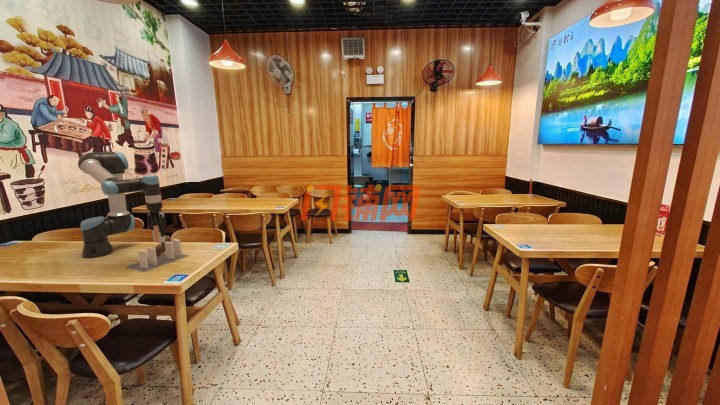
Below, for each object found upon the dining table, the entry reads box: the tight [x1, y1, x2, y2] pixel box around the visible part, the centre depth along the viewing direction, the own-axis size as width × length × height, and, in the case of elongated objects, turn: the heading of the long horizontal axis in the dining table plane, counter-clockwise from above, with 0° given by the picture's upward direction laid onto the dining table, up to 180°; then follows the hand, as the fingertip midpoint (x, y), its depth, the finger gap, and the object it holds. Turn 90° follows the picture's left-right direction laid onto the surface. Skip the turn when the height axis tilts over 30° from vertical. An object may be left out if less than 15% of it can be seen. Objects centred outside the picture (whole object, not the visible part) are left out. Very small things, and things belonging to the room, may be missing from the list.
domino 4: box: [164, 241, 174, 259], centre depth 176 cm, size 2×5×10 cm, turn 67°
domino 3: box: [153, 225, 163, 244], centre depth 169 cm, size 2×5×10 cm, turn 67°
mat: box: [124, 252, 190, 273], centre depth 172 cm, size 18×26×1 cm
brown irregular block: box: [153, 234, 171, 256], centre depth 187 cm, size 18×9×10 cm, turn 171°
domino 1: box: [137, 249, 149, 268], centre depth 162 cm, size 2×5×10 cm, turn 67°
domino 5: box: [171, 238, 183, 256], centre depth 180 cm, size 2×5×10 cm, turn 67°
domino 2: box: [146, 246, 158, 265], centre depth 167 cm, size 2×5×10 cm, turn 67°
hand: (159, 241), depth 170 cm, fingers closed on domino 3, 5 cm apart
